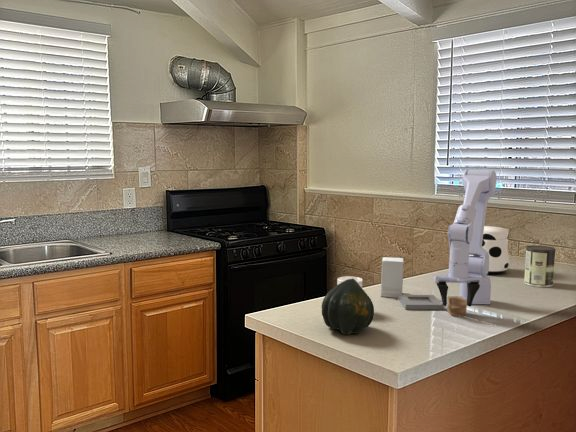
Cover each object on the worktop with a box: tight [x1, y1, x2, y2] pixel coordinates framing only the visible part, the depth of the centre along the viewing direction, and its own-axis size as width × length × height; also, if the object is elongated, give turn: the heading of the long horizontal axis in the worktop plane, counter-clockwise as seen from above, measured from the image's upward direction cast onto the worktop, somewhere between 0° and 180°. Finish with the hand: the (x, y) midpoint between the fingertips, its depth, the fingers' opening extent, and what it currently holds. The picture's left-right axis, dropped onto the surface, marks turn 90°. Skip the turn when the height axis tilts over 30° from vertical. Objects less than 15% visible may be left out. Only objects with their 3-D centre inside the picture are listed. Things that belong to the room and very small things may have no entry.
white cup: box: [336, 275, 364, 289], centre depth 180 cm, size 8×8×10 cm
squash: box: [321, 278, 375, 336], centre depth 161 cm, size 14×15×15 cm
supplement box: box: [380, 256, 405, 299], centre depth 199 cm, size 7×7×13 cm
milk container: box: [469, 225, 510, 274], centre depth 237 cm, size 17×17×18 cm
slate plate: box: [397, 294, 444, 311], centre depth 188 cm, size 12×12×2 cm
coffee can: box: [523, 244, 557, 288], centre depth 216 cm, size 10×10×14 cm
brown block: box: [446, 295, 467, 317], centre depth 178 cm, size 4×4×5 cm
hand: (456, 305), depth 177 cm, fingers open, 7 cm apart
